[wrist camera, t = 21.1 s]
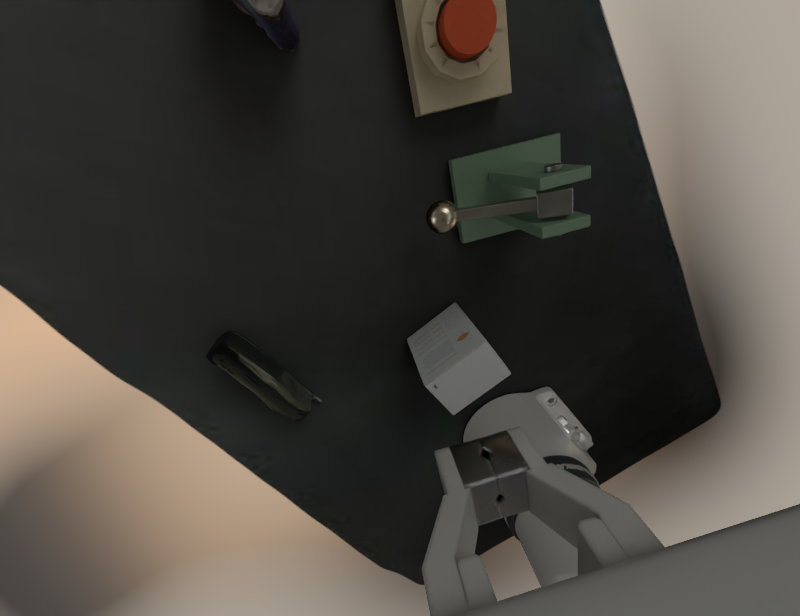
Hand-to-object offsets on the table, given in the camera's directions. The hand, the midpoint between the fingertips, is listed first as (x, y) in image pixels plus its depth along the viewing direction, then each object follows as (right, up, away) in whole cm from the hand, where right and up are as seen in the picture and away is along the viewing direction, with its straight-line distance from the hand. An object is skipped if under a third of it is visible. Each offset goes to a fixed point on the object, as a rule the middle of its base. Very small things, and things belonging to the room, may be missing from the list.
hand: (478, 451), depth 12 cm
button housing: (+2, +30, +22) cm, 37 cm away
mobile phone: (-19, -3, +33) cm, 38 cm away
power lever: (+7, +15, +22) cm, 27 cm away
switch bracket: (+9, +18, +28) cm, 35 cm away
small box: (+3, +1, +34) cm, 35 cm away
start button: (+3, +28, +18) cm, 33 cm away
